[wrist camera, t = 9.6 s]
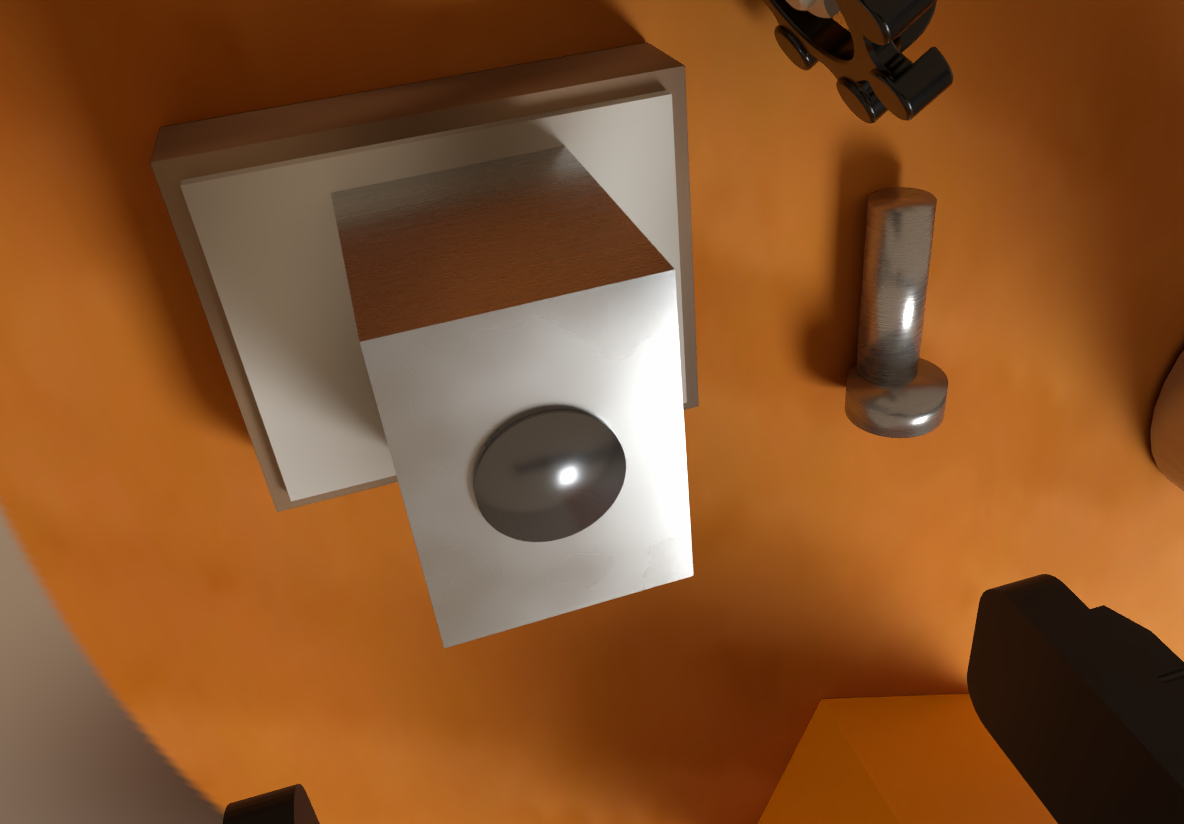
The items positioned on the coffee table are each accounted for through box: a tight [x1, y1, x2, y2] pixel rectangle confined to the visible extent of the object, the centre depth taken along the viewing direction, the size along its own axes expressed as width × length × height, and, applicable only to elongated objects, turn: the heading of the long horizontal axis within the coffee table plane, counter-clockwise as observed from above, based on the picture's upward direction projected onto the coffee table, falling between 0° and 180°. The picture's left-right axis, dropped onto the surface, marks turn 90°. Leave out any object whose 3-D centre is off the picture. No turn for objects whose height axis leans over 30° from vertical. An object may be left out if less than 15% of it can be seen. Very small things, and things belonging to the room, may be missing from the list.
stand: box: [150, 42, 698, 512], centre depth 21 cm, size 10×8×2 cm
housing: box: [331, 146, 694, 648], centre depth 17 cm, size 4×6×6 cm
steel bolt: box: [845, 187, 948, 438], centre depth 25 cm, size 6×3×3 cm, turn 5°
